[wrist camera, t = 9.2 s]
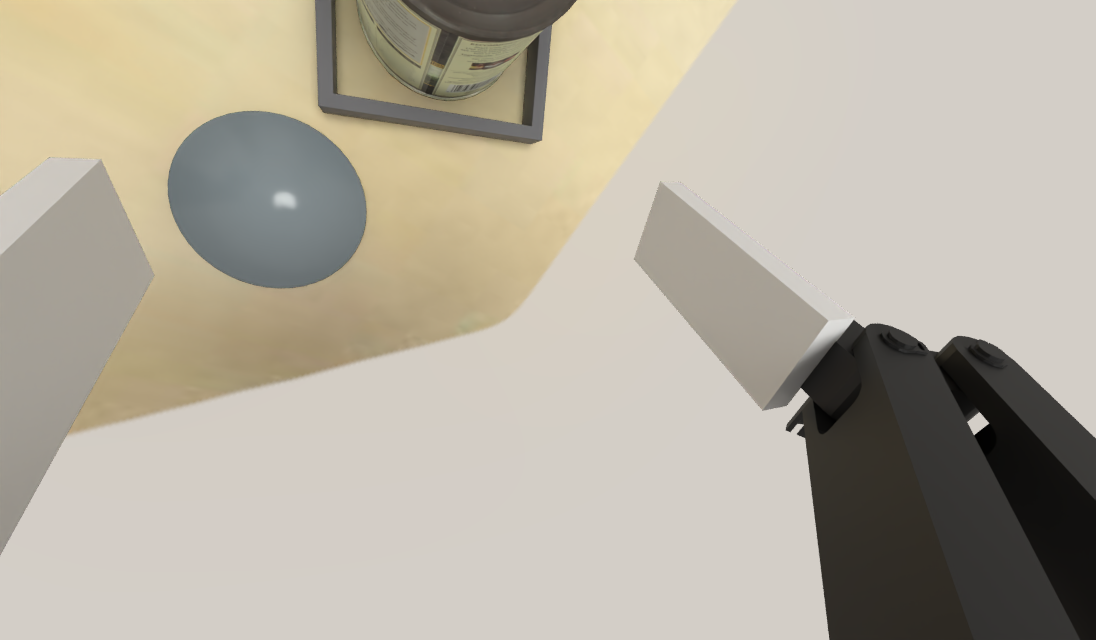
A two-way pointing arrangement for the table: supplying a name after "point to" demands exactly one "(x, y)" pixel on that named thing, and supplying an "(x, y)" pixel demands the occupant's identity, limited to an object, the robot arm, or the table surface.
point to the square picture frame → (426, 117)
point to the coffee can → (453, 40)
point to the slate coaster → (267, 199)
